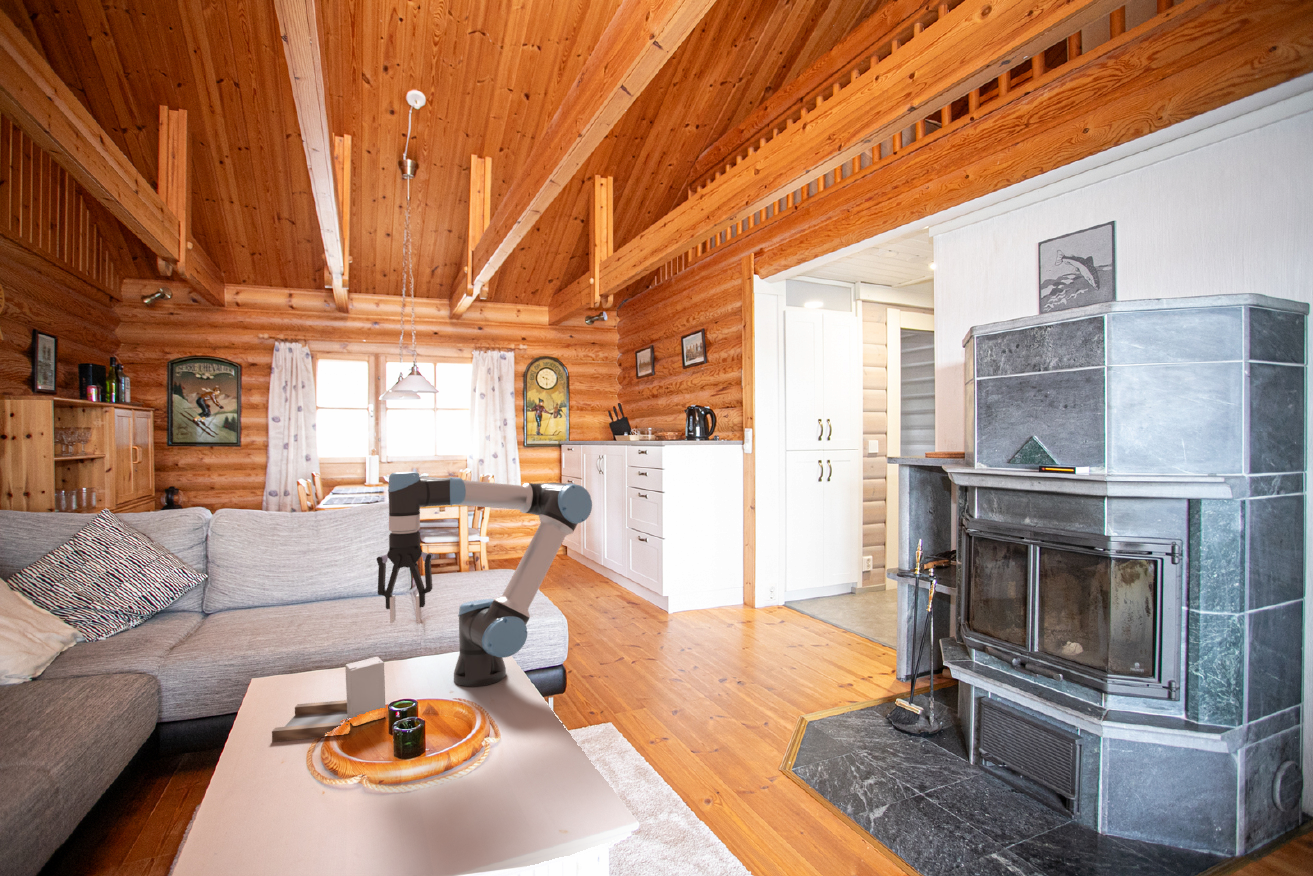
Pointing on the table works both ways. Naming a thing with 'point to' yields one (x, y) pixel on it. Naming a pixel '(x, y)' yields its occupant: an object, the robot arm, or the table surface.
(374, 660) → the skincare box
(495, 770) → the table surface
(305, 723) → the u rest
